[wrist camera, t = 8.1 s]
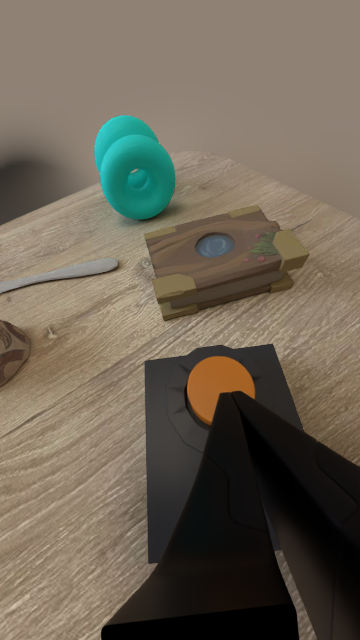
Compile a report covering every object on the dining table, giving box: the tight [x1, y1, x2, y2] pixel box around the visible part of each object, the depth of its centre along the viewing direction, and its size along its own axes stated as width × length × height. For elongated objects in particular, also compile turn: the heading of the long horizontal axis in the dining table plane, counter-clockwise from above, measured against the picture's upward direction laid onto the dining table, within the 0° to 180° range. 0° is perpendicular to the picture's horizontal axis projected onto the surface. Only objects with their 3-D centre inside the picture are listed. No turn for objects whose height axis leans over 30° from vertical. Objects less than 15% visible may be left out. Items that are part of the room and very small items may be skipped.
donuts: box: [94, 115, 175, 220], centre depth 30 cm, size 10×10×10 cm
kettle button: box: [187, 356, 255, 426], centre depth 12 cm, size 4×4×2 cm
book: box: [144, 205, 310, 321], centre depth 24 cm, size 15×11×5 cm
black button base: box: [145, 344, 304, 564], centre depth 15 cm, size 11×10×6 cm
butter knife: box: [0, 258, 118, 293], centre depth 28 cm, size 1×27×3 cm
